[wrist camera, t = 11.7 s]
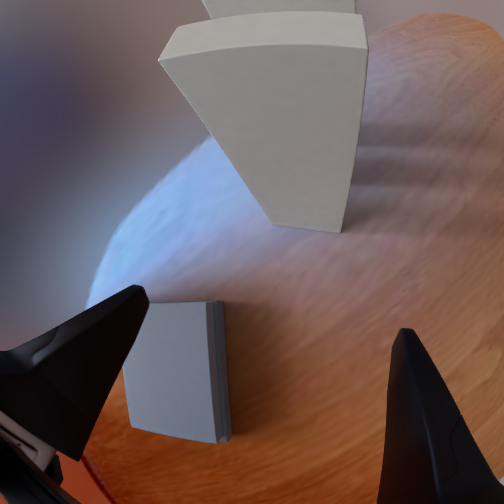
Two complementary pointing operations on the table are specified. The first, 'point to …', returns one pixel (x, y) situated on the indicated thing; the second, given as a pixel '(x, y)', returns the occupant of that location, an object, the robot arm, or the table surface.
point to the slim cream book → (280, 104)
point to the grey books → (180, 372)
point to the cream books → (275, 6)
